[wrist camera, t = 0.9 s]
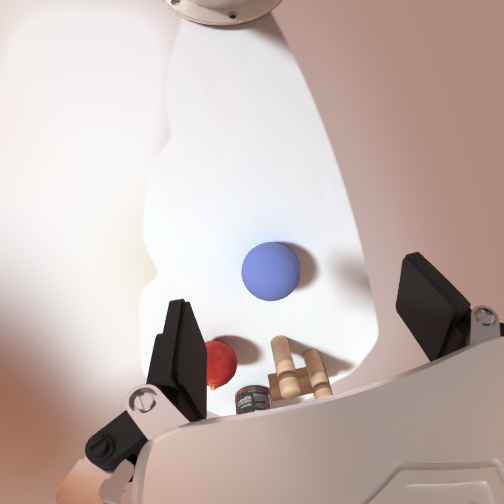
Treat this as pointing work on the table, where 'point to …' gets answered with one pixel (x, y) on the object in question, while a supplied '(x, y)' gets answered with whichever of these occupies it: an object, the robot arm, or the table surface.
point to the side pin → (317, 374)
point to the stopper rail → (303, 381)
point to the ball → (271, 271)
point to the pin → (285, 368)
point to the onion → (219, 364)
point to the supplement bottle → (252, 400)
